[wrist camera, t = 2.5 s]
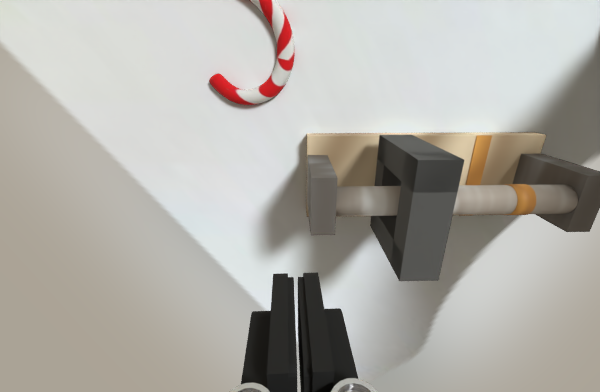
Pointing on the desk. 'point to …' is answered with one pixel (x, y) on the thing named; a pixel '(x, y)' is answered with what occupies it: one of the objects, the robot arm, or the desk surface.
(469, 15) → the desk surface
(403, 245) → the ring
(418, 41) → the desk surface
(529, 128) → the desk surface
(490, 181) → the rail fixture
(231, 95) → the candy cane
